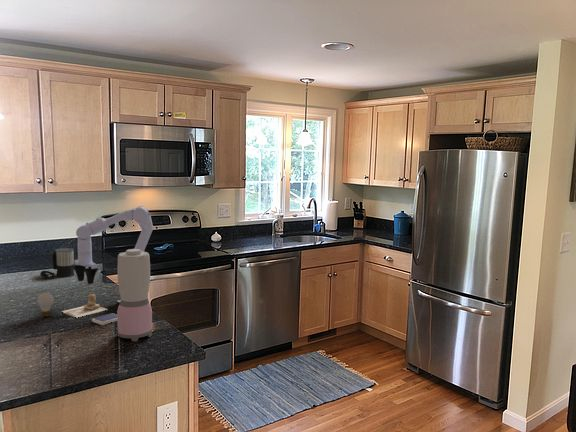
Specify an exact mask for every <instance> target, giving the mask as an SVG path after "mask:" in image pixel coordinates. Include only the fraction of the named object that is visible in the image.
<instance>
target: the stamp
mask: <svg viewBox="0 0 576 432" xmlns="http://www.w3.org/2000/svg"><path fill="white" fill-rule="evenodd" d="M96 302H97V301H96V294H94V293H93V294H91V293H90V294H88V295H87V304H84V305H83V306H84V309H86V310H91V311H92V310H95V309H98V308H100V307H101V305H100V303H96Z"/></svg>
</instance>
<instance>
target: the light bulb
mask: <svg viewBox="0 0 576 432" xmlns="http://www.w3.org/2000/svg"><path fill="white" fill-rule="evenodd" d="M36 303H37V305H38V306H39V307H40V310H41V313H42V314H41V315H42V316H43V317H45V318H47V317H49V316H50V311H51V307H52V305H53V304H54V296H53V295H52V294H51V293H49V292H43V293H41V294H39V296H38V297H37V299H36Z"/></svg>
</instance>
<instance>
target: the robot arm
mask: <svg viewBox="0 0 576 432" xmlns="http://www.w3.org/2000/svg"><path fill="white" fill-rule="evenodd" d="M124 220H130V221H133V220H134V221H135V222H136V223H137V224H138V226H139V227H140V229H141V231H140V234H139V236H138V239H137V242H136V244H135V246H134V248H133V249H140V250H141V251H142V252H145V249H146V247H147V245H148V242H149V240H150V237H151V235H152V233H153V230H154V225H153V221H152V216H151V213H150V212H149V209H148V208H147V207H145V206H144V205H143V206H142V205H140V206H137V207H132V208H129V209H126V210H124V211H121V212H120V213H117V214H114V215H112V216H111V217H108V218H104V217H96V218H95V220H93V221H91V222H85V224H82V225H80V226H79V227H78V228H77V229H76V231H75V235H76V237H77V259H74V266H73V269H74V273H75V275H76V277H77V281H78V282H84V280H85V275H86V282H87V284H88V285H91V284H94V280H95V276H96V275H97V272H98V271H99V268H98V267H97V263H95V262H94V261H93V248H92V247H93V246H92V245H93V243H92V236H95V235H97V234H100V233H102V232H105V231H107V230H109V228H110V227H109V226H111V225H114V224H117V223H119V222H122V221H124ZM116 302H117V303H119V304H120V302H121V299H119V300H117V301H116Z"/></svg>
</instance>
